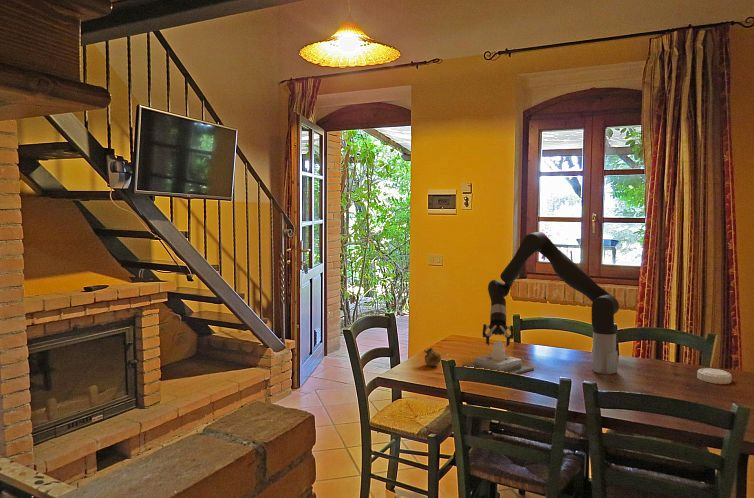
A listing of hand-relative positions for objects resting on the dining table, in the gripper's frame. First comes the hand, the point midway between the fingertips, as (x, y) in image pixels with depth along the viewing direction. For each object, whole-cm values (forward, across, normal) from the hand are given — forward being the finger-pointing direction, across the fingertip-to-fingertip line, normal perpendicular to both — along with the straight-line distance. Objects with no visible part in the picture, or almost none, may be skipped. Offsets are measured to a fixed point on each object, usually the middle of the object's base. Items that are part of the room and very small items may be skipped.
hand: (497, 345), depth 248 cm
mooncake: (+10, +88, +1) cm, 88 cm away
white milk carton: (+12, 0, -1) cm, 12 cm away
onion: (+14, -29, -2) cm, 32 cm away
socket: (+12, 0, -1) cm, 12 cm away
